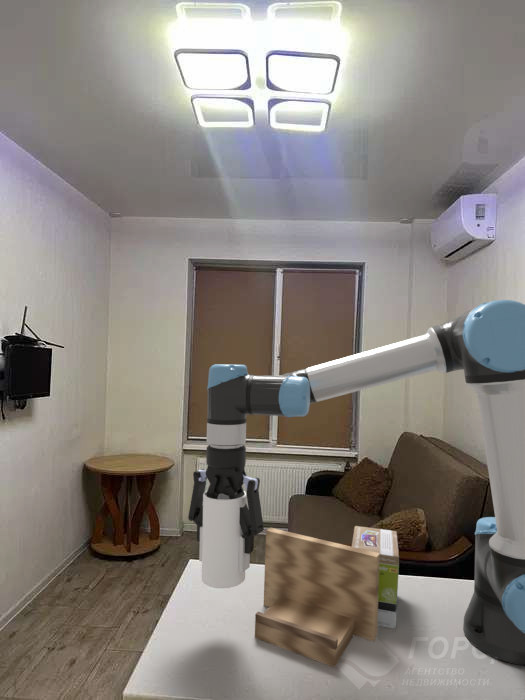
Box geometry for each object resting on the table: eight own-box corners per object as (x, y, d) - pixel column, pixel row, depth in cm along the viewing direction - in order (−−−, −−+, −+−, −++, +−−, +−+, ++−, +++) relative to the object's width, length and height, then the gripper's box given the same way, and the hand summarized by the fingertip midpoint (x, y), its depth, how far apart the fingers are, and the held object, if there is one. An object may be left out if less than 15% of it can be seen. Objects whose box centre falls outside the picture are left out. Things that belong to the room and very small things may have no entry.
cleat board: (377, 636, 89) (379, 553, 90) (357, 675, 78) (360, 580, 78) (267, 601, 101) (270, 527, 101) (236, 631, 89) (239, 548, 90)
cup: (250, 571, 90) (251, 489, 91) (237, 591, 82) (238, 501, 83) (211, 565, 93) (212, 485, 93) (194, 584, 85) (196, 497, 85)
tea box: (397, 630, 91) (399, 555, 92) (346, 621, 94) (348, 548, 94) (395, 593, 106) (397, 529, 106) (351, 586, 109) (353, 523, 109)
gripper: (284, 447, 86) (282, 569, 86) (193, 436, 96) (191, 545, 96) (265, 454, 80) (263, 586, 79) (170, 442, 90) (168, 559, 89)
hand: (224, 563), depth 88 cm, fingers closed on cup, 8 cm apart
